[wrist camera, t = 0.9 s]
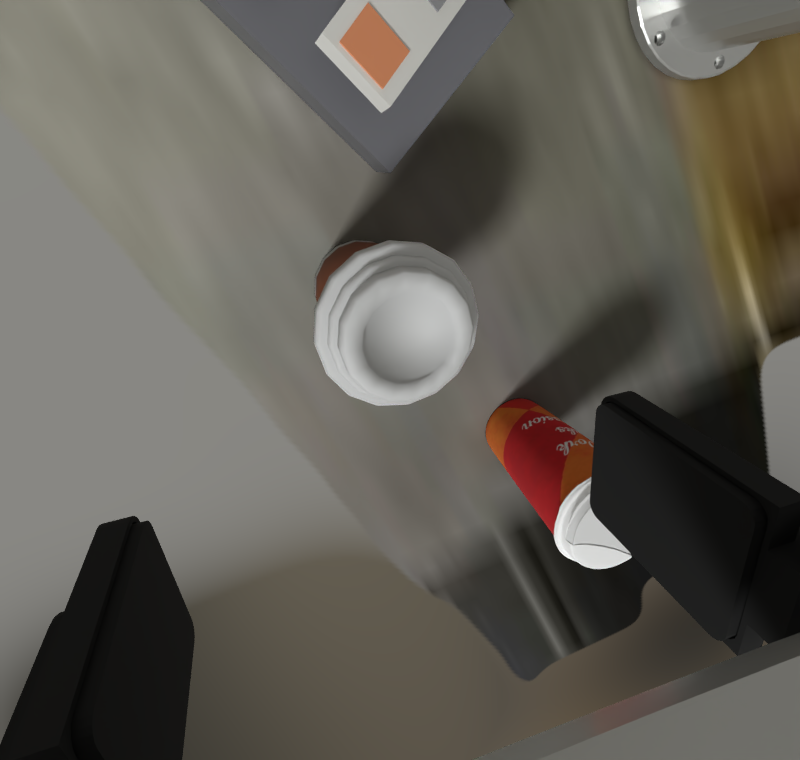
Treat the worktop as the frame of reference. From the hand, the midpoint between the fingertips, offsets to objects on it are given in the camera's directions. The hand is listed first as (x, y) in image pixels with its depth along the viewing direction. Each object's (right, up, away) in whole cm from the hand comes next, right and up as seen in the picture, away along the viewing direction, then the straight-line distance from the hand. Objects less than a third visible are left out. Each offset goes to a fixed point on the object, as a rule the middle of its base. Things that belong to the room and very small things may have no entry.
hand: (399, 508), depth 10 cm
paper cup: (+10, -1, +34) cm, 36 cm away
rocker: (0, +21, +15) cm, 26 cm away
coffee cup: (-3, +9, +25) cm, 27 cm away
